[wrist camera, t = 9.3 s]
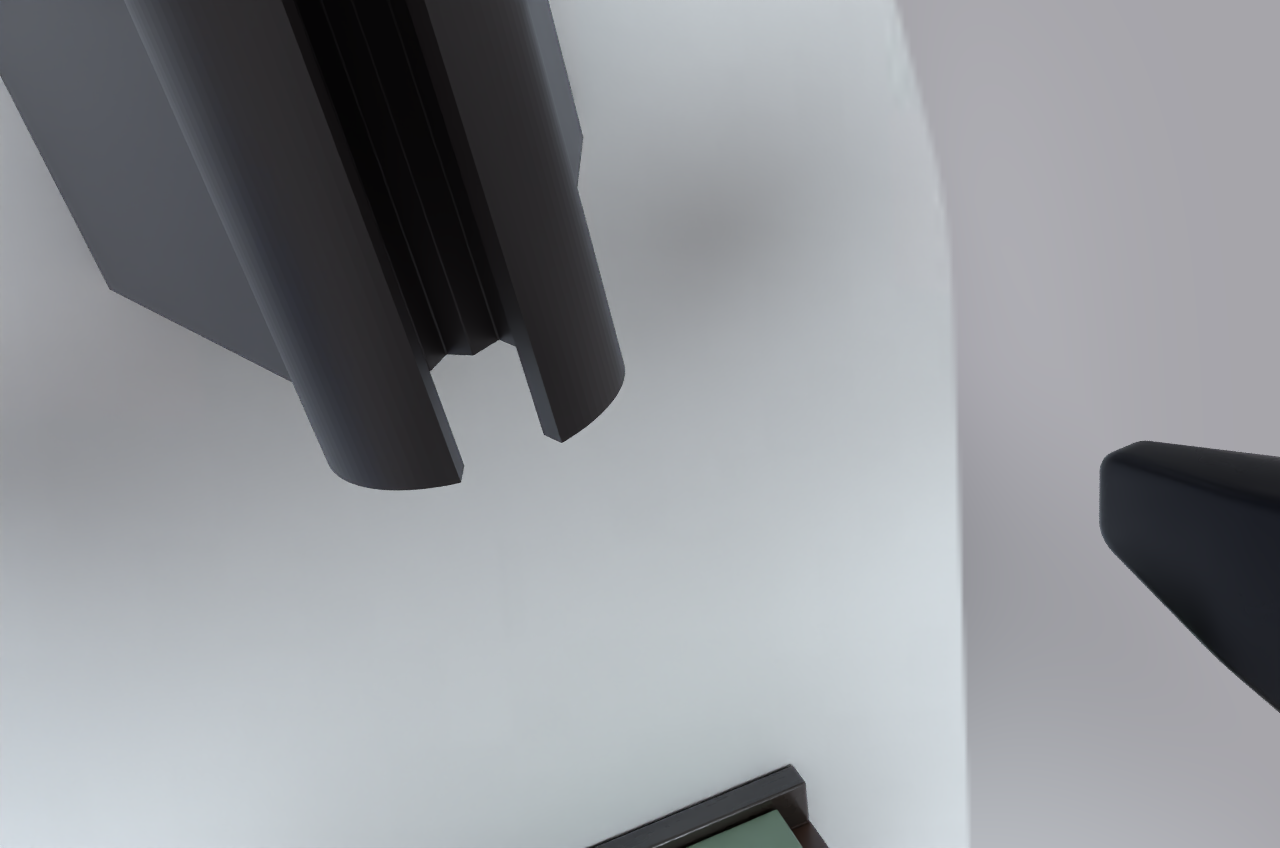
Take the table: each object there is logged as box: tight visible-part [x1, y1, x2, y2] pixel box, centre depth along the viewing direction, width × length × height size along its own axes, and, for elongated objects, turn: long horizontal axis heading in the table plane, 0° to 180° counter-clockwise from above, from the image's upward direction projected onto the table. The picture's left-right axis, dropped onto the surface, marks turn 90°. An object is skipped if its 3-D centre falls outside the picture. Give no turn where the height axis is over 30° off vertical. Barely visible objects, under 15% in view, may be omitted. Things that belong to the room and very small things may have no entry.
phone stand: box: [0, 0, 625, 490], centre depth 12 cm, size 9×6×12 cm, turn 105°
